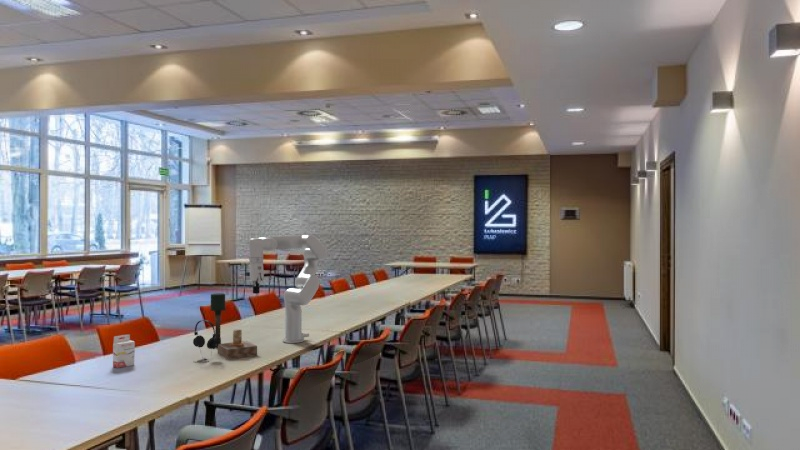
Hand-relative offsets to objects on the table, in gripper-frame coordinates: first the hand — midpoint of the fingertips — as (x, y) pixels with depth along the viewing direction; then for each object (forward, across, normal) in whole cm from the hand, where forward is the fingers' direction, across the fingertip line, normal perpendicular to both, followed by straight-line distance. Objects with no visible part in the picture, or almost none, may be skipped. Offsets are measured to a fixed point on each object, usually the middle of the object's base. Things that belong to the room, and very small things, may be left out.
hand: (256, 293), depth 317 cm
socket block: (+31, -7, +13) cm, 34 cm away
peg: (+31, -7, +13) cm, 34 cm away
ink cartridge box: (+31, 0, +67) cm, 74 cm away
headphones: (+31, -9, +32) cm, 46 cm away
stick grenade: (+31, +17, +16) cm, 39 cm away
